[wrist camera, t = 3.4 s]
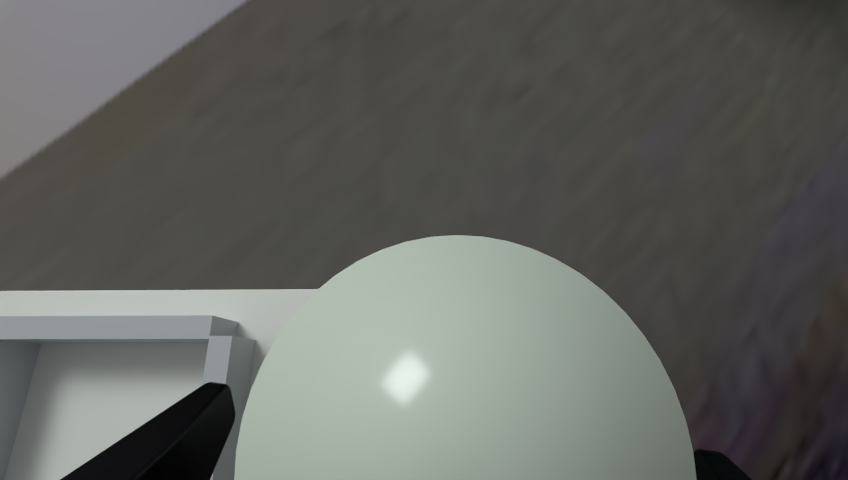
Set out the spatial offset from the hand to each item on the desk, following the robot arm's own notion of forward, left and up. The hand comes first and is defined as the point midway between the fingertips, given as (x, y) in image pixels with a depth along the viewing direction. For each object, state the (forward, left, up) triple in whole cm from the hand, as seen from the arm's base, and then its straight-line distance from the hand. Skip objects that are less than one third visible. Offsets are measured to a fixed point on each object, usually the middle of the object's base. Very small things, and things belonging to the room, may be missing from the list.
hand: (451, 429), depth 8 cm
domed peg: (0, 0, -8) cm, 8 cm away
